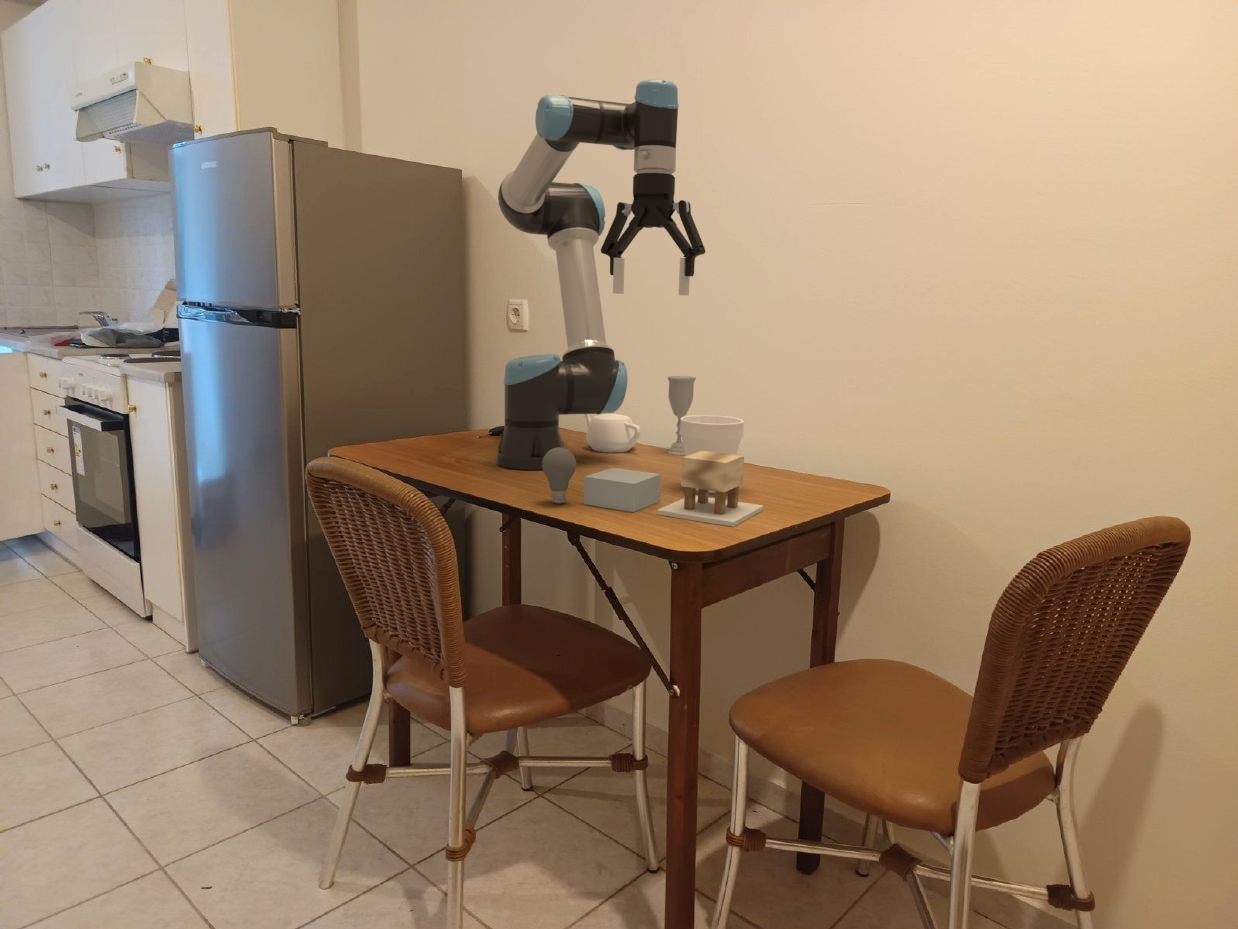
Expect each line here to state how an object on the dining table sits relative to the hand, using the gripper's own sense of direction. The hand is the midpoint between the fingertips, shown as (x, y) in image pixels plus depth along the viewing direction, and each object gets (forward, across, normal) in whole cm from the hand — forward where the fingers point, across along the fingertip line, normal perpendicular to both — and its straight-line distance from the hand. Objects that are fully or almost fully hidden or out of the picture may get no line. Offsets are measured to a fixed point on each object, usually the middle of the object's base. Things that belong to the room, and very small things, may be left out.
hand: (650, 294), depth 161 cm
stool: (+36, +18, -9) cm, 41 cm away
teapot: (+37, -28, +35) cm, 58 cm away
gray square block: (+37, +2, -12) cm, 39 cm away
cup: (+37, +10, +8) cm, 39 cm away
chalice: (+37, -12, +40) cm, 56 cm away
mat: (+37, +18, -9) cm, 42 cm away
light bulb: (+37, -7, -19) cm, 42 cm away
